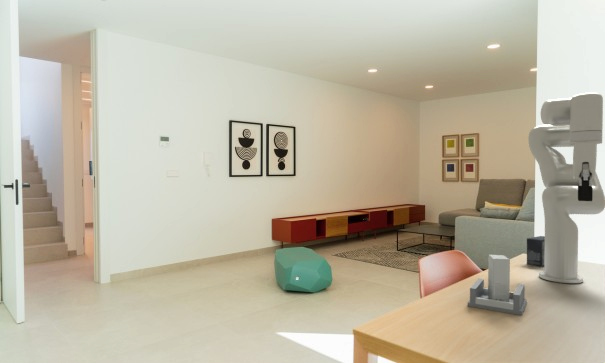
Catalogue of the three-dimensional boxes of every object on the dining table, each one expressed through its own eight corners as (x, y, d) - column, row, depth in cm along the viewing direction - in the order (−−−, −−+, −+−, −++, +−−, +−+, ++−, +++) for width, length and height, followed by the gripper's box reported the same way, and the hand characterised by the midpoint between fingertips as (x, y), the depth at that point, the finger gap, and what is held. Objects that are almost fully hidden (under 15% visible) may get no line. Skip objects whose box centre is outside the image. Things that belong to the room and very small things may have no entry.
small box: (540, 260, 166) (540, 235, 166) (556, 263, 161) (557, 237, 161) (525, 264, 161) (525, 237, 161) (542, 267, 155) (542, 239, 155)
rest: (476, 294, 120) (476, 278, 120) (526, 302, 113) (527, 284, 113) (467, 306, 110) (467, 287, 110) (522, 315, 103) (522, 295, 103)
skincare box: (510, 304, 108) (510, 259, 108) (492, 303, 109) (493, 258, 109) (503, 297, 114) (504, 254, 114) (487, 296, 115) (487, 254, 115)
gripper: (569, 141, 123) (569, 198, 123) (569, 137, 108) (568, 201, 109) (600, 140, 119) (599, 198, 119) (604, 135, 104) (603, 202, 105)
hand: (584, 200), depth 114 cm, fingers open, 9 cm apart
